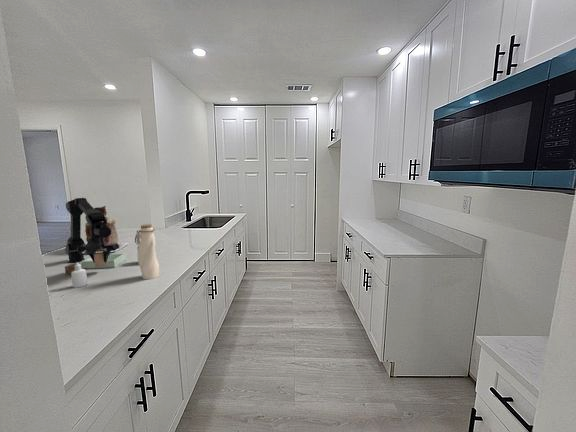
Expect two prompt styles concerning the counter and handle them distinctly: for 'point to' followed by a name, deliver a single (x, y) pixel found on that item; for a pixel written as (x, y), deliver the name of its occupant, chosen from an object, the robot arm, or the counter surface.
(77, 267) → the eye dropper bottle
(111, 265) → the box
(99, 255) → the egg
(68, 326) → the counter surface
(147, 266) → the water bottle
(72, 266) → the walnut cube
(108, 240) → the cookie jar
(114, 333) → the counter surface
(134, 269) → the counter surface
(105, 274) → the counter surface
